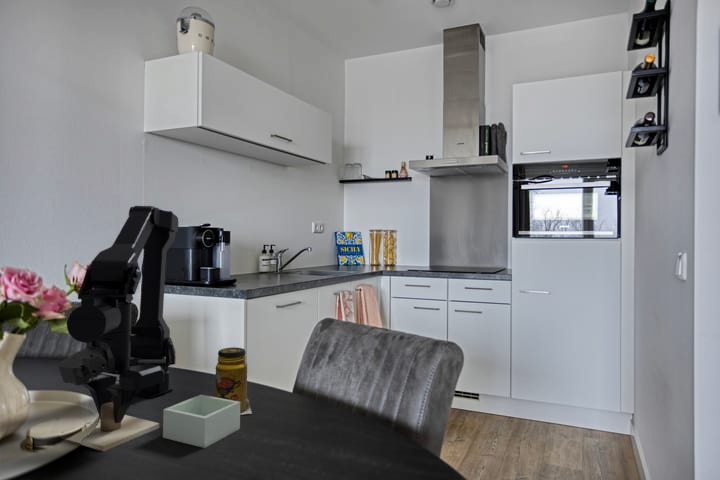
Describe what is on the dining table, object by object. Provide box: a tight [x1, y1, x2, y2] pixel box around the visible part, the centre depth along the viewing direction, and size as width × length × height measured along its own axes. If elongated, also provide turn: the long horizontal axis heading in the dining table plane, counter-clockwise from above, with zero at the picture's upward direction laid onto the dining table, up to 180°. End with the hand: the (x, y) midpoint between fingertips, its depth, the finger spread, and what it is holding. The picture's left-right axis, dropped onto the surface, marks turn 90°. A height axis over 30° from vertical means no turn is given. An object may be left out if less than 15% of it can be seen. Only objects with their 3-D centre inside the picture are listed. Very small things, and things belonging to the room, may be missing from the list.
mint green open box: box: [162, 394, 241, 449], centre depth 85 cm, size 9×9×5 cm
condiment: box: [214, 346, 253, 416], centre depth 98 cm, size 7×8×12 cm
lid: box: [80, 401, 160, 452], centre depth 85 cm, size 11×11×5 cm
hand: (110, 420), depth 85 cm, fingers closed on lid, 3 cm apart
